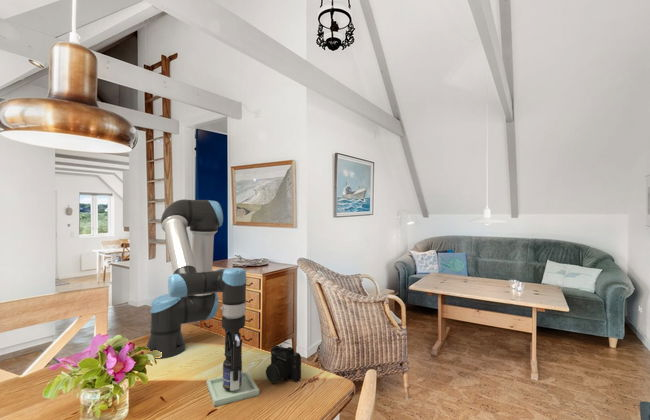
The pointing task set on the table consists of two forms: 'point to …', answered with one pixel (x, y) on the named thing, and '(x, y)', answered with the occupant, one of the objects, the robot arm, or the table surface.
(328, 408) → the table surface
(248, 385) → the tray
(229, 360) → the pill bottle
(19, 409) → the table surface
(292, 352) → the camera
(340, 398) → the table surface
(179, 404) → the table surface
